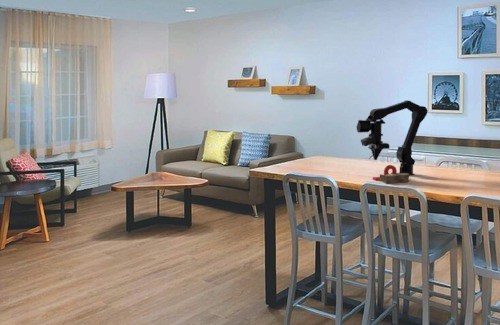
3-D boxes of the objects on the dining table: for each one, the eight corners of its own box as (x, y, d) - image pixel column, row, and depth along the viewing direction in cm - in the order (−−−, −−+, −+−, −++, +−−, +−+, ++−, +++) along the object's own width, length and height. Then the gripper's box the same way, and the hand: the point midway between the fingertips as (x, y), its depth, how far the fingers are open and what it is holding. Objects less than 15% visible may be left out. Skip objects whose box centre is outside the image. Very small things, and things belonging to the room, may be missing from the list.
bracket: (392, 178, 266) (392, 163, 265) (396, 179, 262) (396, 165, 261) (371, 179, 264) (372, 164, 263) (375, 180, 260) (375, 166, 259)
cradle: (399, 179, 262) (399, 170, 261) (408, 182, 254) (409, 173, 253) (378, 181, 258) (378, 172, 257) (387, 184, 250) (387, 175, 249)
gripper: (354, 131, 275) (354, 158, 278) (371, 134, 258) (371, 163, 260) (372, 130, 278) (371, 157, 281) (390, 133, 261) (389, 161, 263)
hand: (375, 159), depth 271 cm, fingers closed
